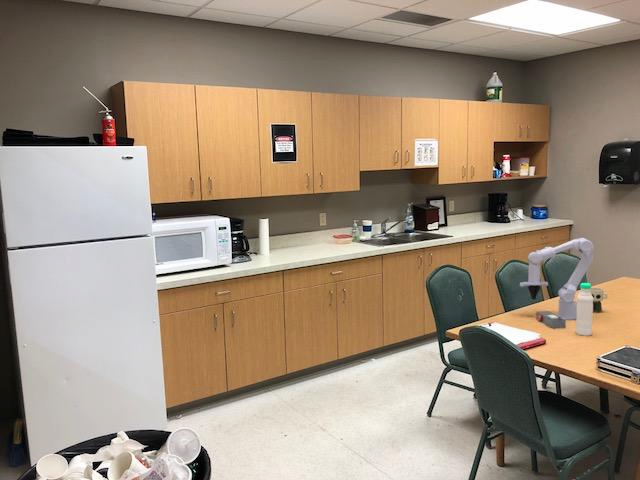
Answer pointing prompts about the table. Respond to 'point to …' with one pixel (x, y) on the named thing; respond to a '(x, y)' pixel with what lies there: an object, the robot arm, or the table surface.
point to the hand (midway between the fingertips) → (533, 298)
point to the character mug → (597, 298)
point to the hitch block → (551, 320)
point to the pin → (540, 317)
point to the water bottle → (584, 310)
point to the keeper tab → (552, 316)
